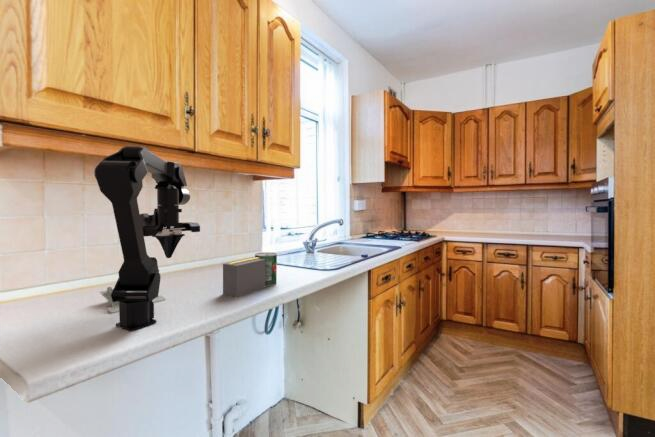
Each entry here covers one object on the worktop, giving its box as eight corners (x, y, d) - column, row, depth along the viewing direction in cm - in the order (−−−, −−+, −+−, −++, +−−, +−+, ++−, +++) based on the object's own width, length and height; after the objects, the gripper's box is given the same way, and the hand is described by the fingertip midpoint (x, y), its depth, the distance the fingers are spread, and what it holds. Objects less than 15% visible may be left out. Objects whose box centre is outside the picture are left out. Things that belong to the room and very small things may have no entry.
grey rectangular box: (236, 297, 104) (236, 264, 103) (222, 294, 107) (222, 262, 106) (265, 287, 116) (265, 258, 115) (252, 285, 119) (252, 256, 118)
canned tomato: (250, 283, 121) (250, 253, 121) (269, 280, 126) (269, 251, 126) (261, 287, 115) (261, 256, 115) (280, 284, 120) (280, 254, 120)
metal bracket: (90, 286, 93) (144, 276, 106) (88, 304, 94) (142, 292, 107) (114, 309, 86) (169, 296, 98) (111, 329, 87) (166, 313, 100)
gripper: (177, 204, 109) (178, 251, 110) (119, 204, 92) (120, 259, 93) (201, 205, 104) (201, 254, 104) (143, 205, 87) (144, 263, 88)
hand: (168, 257), depth 98 cm, fingers closed
